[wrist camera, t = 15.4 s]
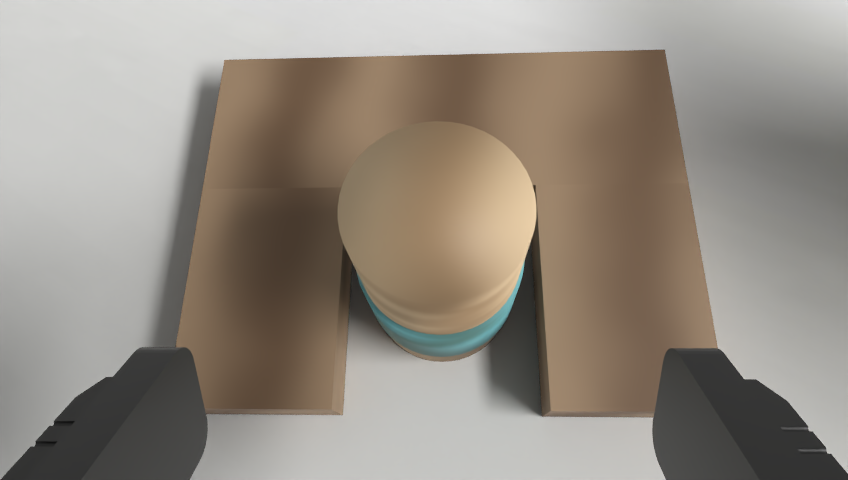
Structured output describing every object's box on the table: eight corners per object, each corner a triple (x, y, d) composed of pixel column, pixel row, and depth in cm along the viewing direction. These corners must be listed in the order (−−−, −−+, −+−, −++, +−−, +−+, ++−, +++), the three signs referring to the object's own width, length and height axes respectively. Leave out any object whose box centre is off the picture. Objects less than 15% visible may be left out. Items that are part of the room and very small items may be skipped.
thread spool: (371, 364, 21) (325, 306, 14) (376, 232, 23) (340, 119, 16) (514, 364, 21) (547, 306, 13) (508, 231, 23) (534, 116, 15)
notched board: (191, 413, 21) (165, 408, 19) (240, 89, 26) (224, 60, 24) (703, 417, 20) (728, 412, 18) (648, 81, 25) (664, 49, 23)
